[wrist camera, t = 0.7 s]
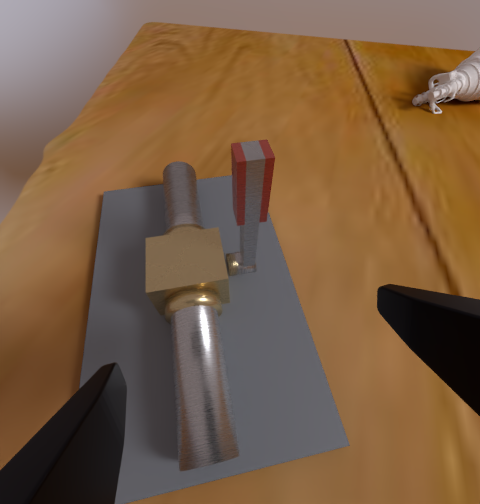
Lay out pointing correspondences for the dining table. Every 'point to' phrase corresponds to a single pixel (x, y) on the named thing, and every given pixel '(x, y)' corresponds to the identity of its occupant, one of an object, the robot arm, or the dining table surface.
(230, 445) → the valve
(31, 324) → the dining table surface
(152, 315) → the mounting board
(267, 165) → the lever
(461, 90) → the rocket engine
